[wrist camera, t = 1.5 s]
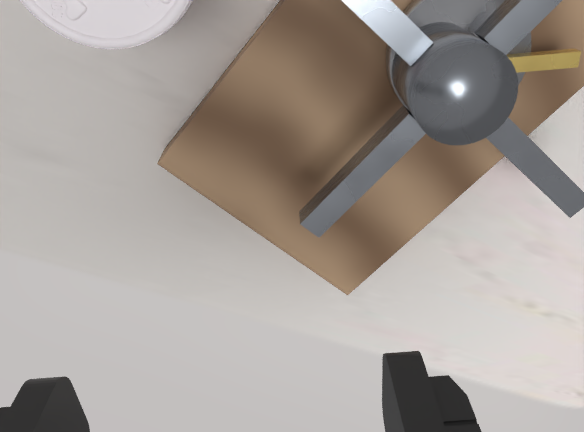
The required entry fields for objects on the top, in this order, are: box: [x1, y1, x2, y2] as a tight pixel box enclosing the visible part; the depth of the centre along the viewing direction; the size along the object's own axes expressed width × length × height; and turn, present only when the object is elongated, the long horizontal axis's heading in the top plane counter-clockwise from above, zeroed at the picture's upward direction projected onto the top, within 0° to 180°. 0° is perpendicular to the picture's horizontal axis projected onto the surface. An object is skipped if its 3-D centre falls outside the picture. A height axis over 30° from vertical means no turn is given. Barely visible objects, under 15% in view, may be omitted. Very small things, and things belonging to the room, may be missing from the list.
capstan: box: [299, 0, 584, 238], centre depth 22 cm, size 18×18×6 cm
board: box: [157, 0, 584, 295], centre depth 27 cm, size 20×14×2 cm
